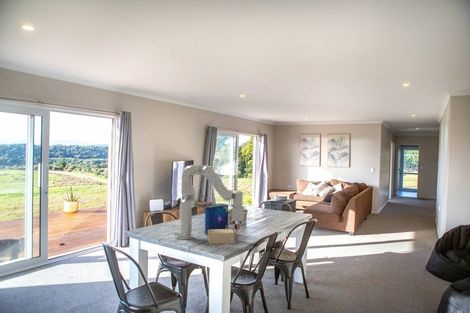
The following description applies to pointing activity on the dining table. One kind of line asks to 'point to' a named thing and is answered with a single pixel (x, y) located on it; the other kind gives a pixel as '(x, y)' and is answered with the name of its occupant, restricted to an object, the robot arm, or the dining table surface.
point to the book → (216, 217)
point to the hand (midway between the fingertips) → (236, 229)
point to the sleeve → (220, 236)
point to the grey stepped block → (236, 234)
